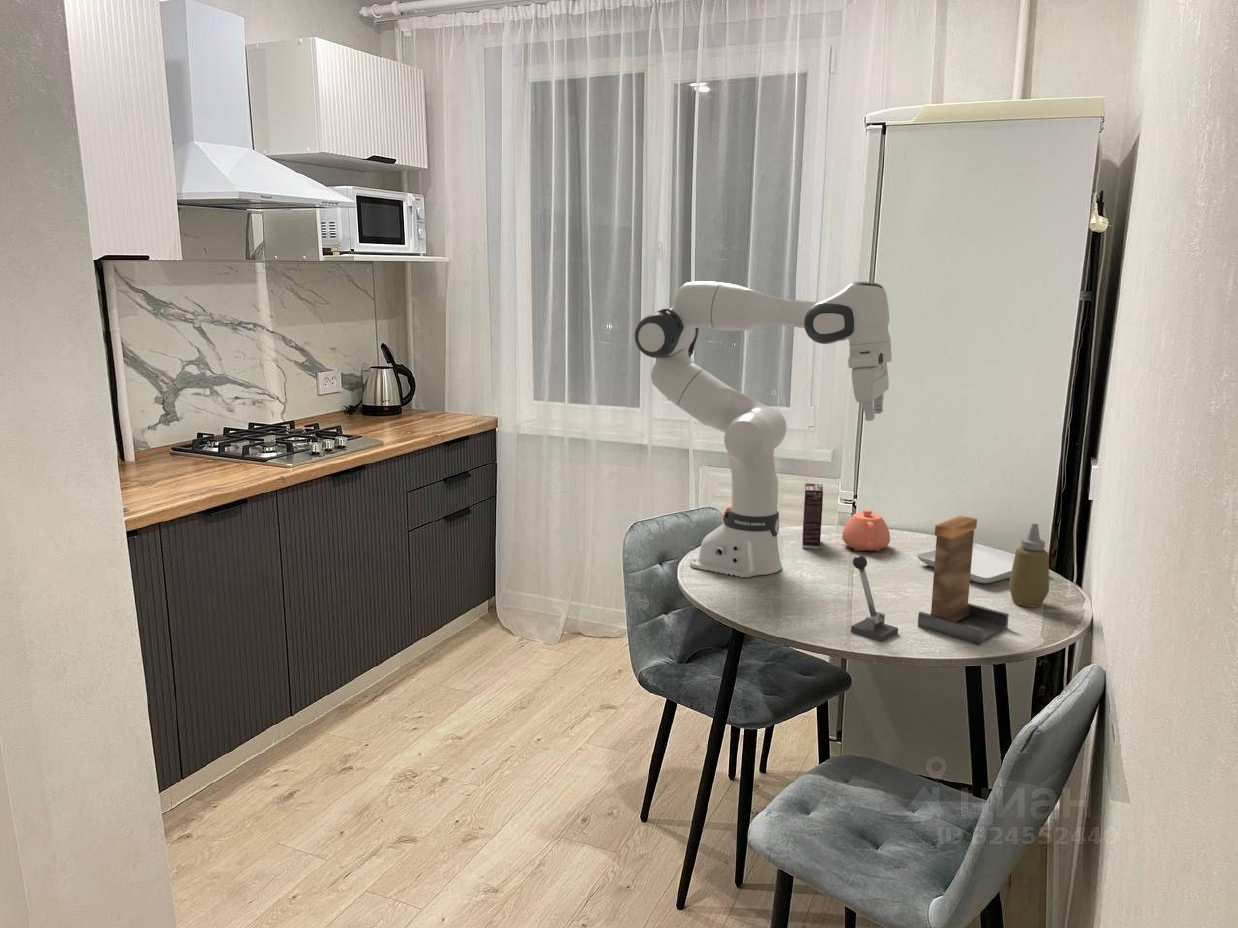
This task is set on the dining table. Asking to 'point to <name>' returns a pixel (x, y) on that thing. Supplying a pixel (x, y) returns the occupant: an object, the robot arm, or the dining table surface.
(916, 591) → the dining table surface
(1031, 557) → the squeeze bottle
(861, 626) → the lever base
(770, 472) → the robot arm
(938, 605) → the walnut paddle
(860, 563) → the toggle lever
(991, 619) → the paddle track
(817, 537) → the supplement box
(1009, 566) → the salad plate
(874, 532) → the sugar bowl
